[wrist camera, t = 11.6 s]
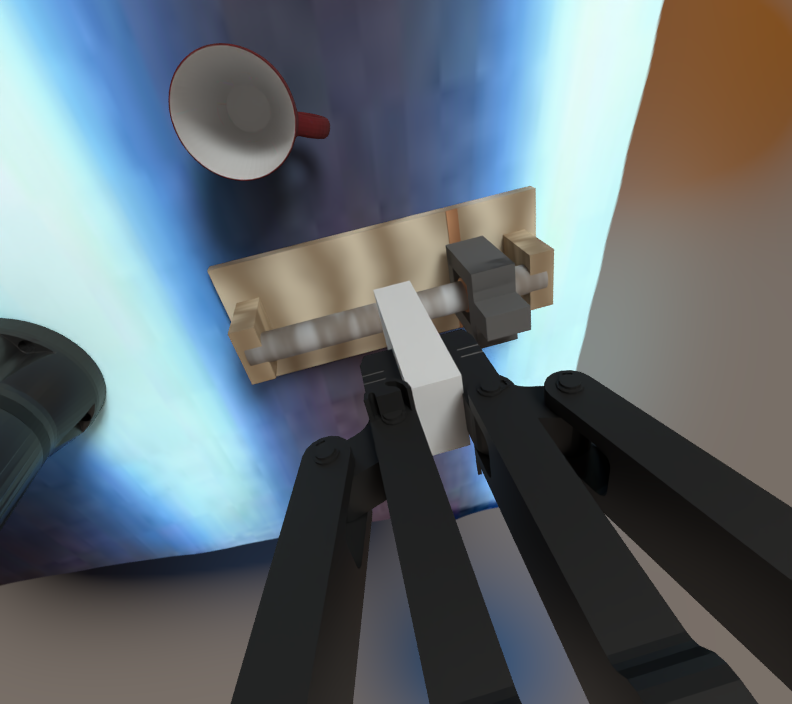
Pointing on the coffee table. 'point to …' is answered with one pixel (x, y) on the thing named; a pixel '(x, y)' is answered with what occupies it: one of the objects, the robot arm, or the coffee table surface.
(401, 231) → the pipe rig
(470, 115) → the coffee table surface
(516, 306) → the collar
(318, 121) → the mug
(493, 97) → the coffee table surface
